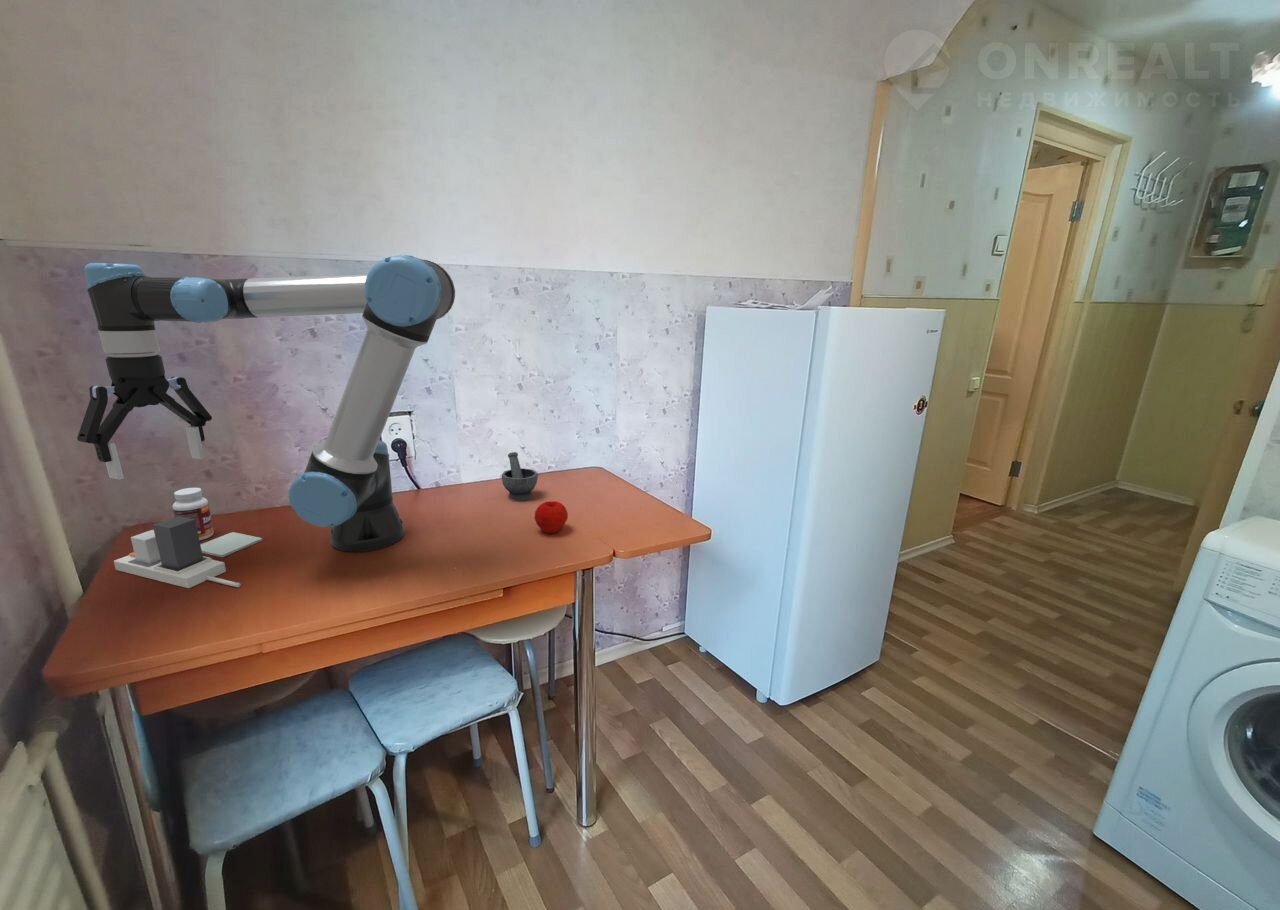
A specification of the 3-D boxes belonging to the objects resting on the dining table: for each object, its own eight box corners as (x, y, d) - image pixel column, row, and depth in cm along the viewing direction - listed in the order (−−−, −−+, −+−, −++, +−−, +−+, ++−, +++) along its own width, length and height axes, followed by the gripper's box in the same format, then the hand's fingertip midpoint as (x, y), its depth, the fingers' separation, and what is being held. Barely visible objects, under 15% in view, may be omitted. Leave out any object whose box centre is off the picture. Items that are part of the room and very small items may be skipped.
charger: (204, 561, 107) (195, 519, 105) (179, 571, 103) (169, 528, 101) (188, 557, 109) (178, 515, 106) (162, 567, 104) (152, 524, 102)
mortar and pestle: (542, 499, 152) (542, 458, 148) (510, 505, 147) (509, 463, 143) (527, 487, 161) (526, 448, 157) (496, 492, 156) (494, 452, 152)
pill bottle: (213, 539, 122) (204, 493, 119) (177, 545, 118) (167, 497, 115) (215, 529, 127) (206, 484, 123) (181, 534, 123) (171, 489, 120)
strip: (256, 578, 106) (250, 545, 104) (220, 596, 99) (212, 561, 97) (155, 554, 114) (148, 523, 112) (116, 569, 107) (107, 537, 105)
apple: (555, 521, 137) (555, 493, 135) (574, 531, 132) (574, 502, 130) (528, 529, 132) (527, 501, 130) (547, 540, 126) (547, 511, 124)
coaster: (262, 540, 122) (262, 538, 122) (222, 557, 114) (221, 555, 113) (232, 534, 124) (232, 532, 124) (191, 550, 116) (190, 548, 116)
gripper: (194, 348, 110) (214, 449, 115) (26, 359, 87) (62, 484, 93) (220, 350, 107) (239, 453, 113) (54, 362, 85) (90, 490, 90)
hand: (159, 467), depth 103 cm, fingers open, 13 cm apart
